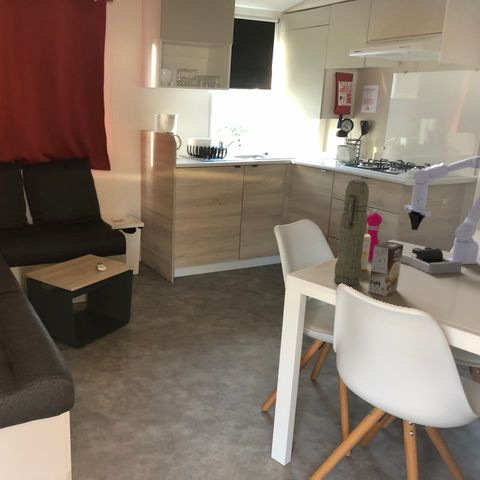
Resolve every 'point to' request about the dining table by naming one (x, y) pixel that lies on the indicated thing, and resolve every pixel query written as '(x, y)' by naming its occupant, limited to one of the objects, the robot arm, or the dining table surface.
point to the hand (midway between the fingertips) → (414, 229)
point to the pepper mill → (373, 230)
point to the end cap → (428, 254)
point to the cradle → (433, 265)
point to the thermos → (352, 233)
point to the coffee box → (385, 268)
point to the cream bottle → (365, 251)
